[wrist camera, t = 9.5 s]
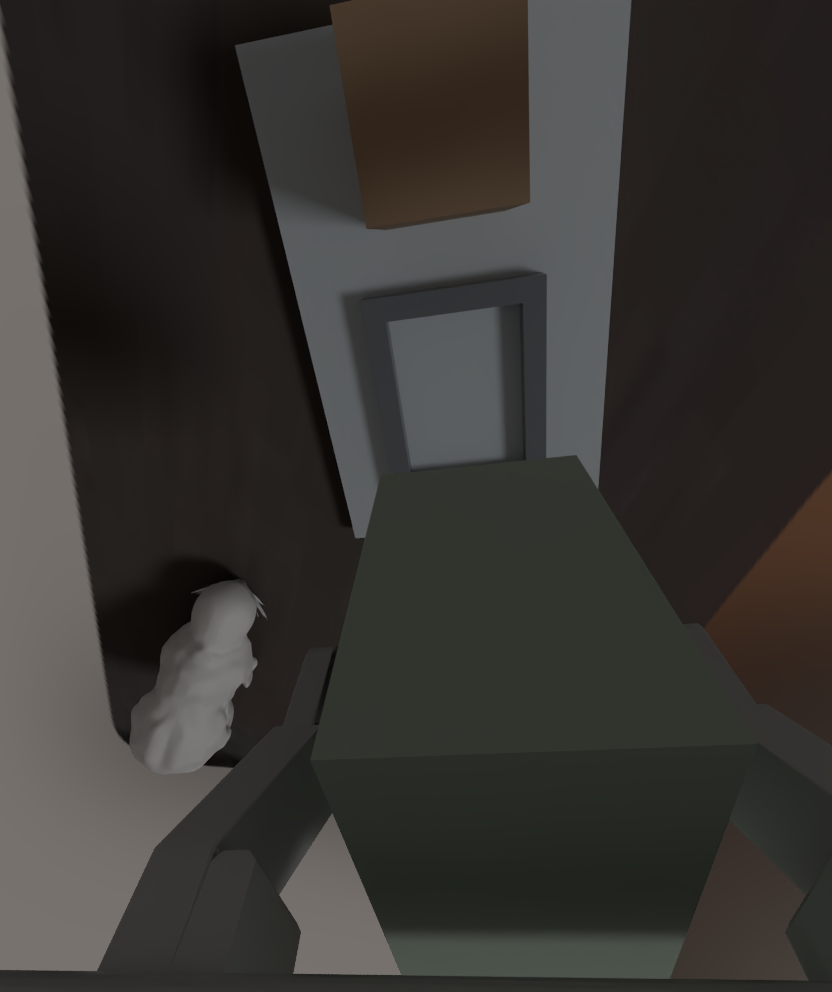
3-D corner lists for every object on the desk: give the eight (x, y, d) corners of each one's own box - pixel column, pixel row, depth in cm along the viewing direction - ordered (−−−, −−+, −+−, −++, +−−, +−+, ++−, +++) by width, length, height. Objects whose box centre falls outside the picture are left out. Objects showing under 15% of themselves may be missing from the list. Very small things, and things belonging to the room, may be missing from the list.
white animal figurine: (98, 774, 27) (131, 631, 23) (169, 666, 35) (204, 543, 31) (203, 801, 28) (254, 669, 24) (249, 690, 36) (294, 575, 32)
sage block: (380, 475, 10) (310, 760, 4) (576, 455, 9) (758, 744, 4) (418, 669, 12) (404, 980, 7) (569, 661, 12) (667, 984, 7)
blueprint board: (244, 54, 18) (141, -41, 11) (623, -25, 16) (734, -181, 10) (358, 528, 28) (335, 609, 22) (591, 507, 27) (635, 587, 21)
